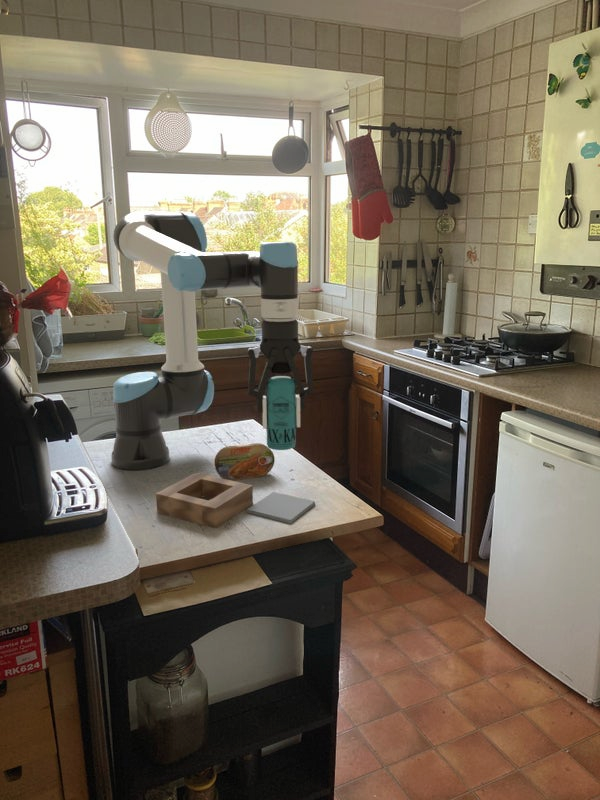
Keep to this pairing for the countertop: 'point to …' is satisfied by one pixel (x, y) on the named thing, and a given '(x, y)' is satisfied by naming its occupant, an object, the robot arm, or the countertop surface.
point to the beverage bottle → (281, 409)
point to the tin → (244, 461)
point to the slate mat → (281, 507)
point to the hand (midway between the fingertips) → (281, 425)
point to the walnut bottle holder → (212, 513)
